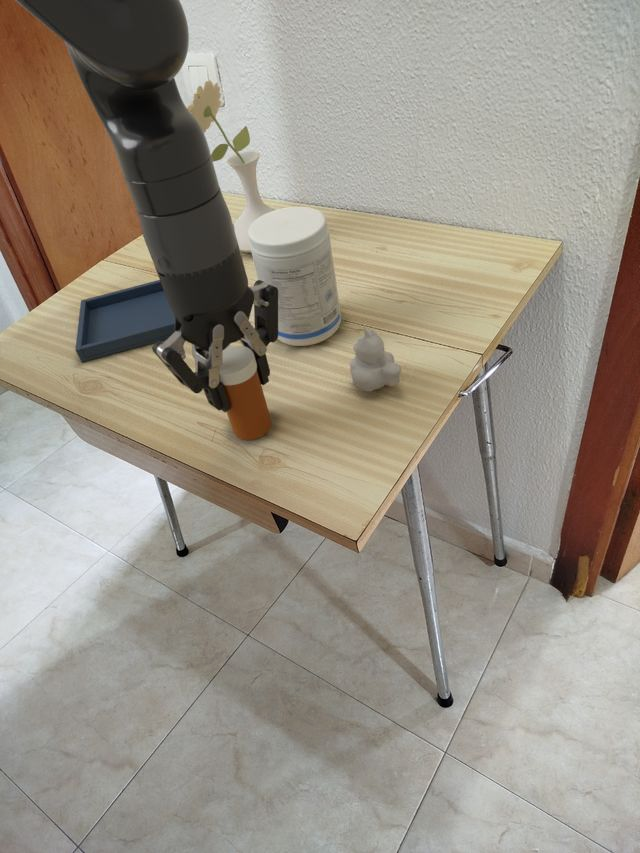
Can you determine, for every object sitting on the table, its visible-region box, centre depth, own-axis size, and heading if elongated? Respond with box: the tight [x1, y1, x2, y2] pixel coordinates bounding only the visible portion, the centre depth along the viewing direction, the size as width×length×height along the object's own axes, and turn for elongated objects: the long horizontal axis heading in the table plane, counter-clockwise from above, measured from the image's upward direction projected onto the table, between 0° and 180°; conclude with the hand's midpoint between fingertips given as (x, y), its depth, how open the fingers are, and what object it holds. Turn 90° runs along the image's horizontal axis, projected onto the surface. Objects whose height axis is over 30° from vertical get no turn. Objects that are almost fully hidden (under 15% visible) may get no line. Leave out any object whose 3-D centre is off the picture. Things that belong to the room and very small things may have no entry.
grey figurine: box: [349, 326, 402, 392], centre depth 65 cm, size 5×7×8 cm
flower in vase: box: [186, 79, 277, 254], centre depth 89 cm, size 13×11×25 cm
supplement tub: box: [248, 205, 342, 347], centre depth 73 cm, size 10×10×15 cm
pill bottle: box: [219, 345, 273, 441], centre depth 63 cm, size 5×5×10 cm
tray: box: [75, 279, 175, 363], centre depth 86 cm, size 18×14×2 cm
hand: (242, 393), depth 63 cm, fingers closed on pill bottle, 4 cm apart
